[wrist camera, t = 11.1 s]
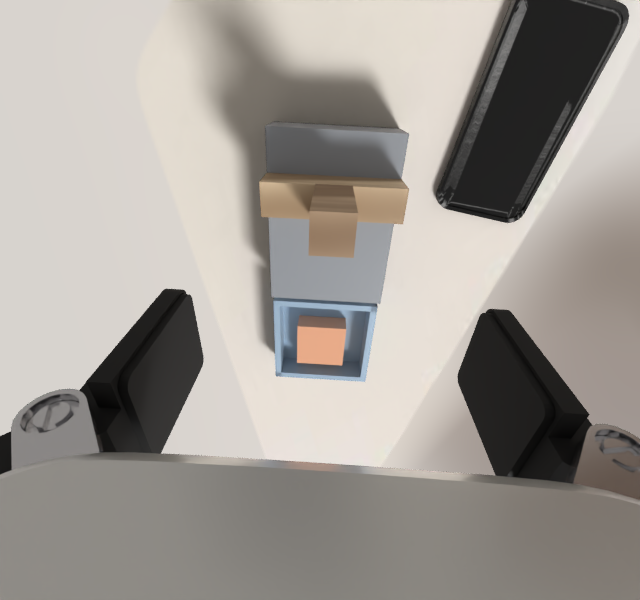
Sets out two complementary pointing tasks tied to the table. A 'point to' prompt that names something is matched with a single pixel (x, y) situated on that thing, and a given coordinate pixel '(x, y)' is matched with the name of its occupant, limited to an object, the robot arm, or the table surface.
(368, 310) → the tray
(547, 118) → the phone
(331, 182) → the scraper
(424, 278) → the table surface
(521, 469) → the robot arm
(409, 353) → the table surface
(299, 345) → the tile
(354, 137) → the gray rectangular block
